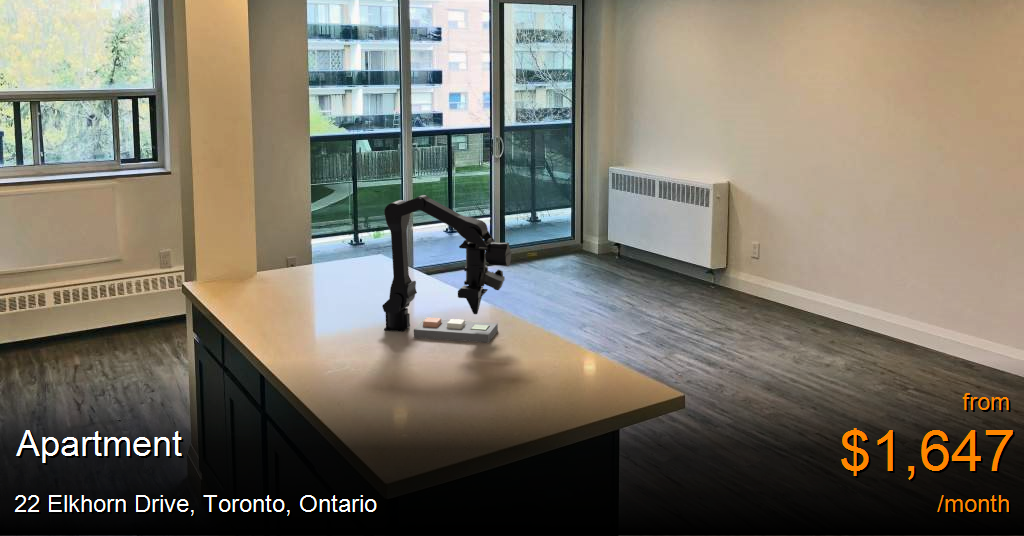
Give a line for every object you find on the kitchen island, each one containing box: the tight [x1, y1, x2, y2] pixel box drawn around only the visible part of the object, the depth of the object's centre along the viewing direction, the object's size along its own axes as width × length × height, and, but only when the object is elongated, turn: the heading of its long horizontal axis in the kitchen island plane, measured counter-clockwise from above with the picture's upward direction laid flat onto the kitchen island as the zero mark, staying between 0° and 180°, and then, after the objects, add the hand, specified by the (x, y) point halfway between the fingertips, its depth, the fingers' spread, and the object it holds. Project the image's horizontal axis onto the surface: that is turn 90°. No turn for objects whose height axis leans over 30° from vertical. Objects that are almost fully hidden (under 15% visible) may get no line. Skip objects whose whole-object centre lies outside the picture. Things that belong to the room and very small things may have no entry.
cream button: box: [447, 318, 466, 329], centre depth 286 cm, size 4×4×2 cm
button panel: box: [413, 317, 499, 344], centre depth 286 cm, size 23×12×2 cm, turn 78°
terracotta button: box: [422, 316, 442, 327], centre depth 288 cm, size 4×4×2 cm
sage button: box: [471, 325, 489, 331], centre depth 285 cm, size 4×4×2 cm
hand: (475, 313), depth 284 cm, fingers closed
